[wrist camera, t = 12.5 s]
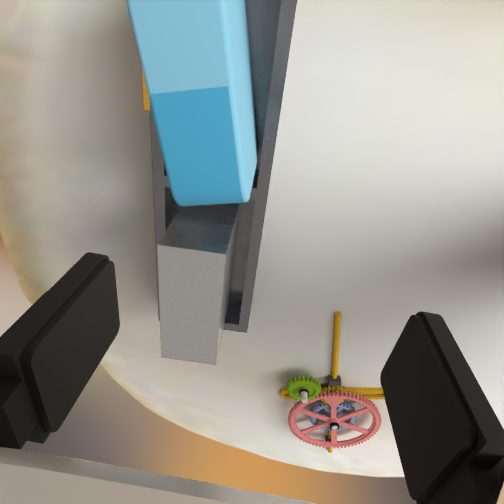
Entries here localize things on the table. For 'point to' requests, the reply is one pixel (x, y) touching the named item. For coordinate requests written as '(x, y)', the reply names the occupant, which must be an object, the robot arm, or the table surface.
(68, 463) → the robot arm
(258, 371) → the table surface
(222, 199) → the data package
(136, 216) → the table surface
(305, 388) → the mechanical gear assembly
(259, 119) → the rack
